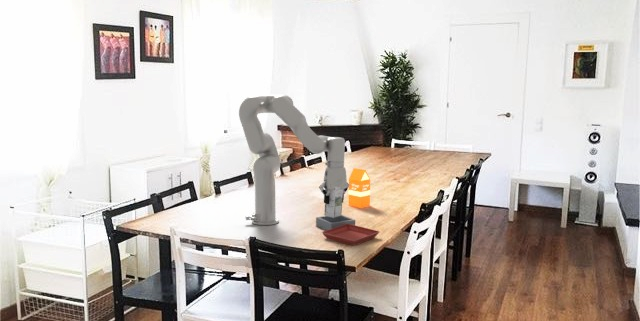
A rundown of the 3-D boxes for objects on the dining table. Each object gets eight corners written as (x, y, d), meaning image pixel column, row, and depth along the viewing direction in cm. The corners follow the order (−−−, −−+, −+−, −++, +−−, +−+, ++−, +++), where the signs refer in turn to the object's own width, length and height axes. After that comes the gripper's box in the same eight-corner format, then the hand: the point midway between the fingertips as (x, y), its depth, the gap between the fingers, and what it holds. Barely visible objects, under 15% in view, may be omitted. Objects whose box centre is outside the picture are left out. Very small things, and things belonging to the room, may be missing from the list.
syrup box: (331, 213, 253) (333, 183, 251) (341, 216, 249) (343, 185, 247) (324, 215, 248) (325, 184, 246) (334, 218, 245) (335, 186, 243)
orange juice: (357, 203, 299) (358, 167, 296) (370, 205, 292) (370, 169, 289) (348, 205, 293) (348, 168, 290) (360, 208, 287) (361, 170, 284)
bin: (331, 232, 240) (331, 223, 240) (316, 225, 251) (316, 217, 251) (355, 228, 247) (355, 219, 247) (339, 222, 258) (339, 213, 258)
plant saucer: (354, 248, 220) (354, 240, 219) (320, 239, 231) (321, 231, 231) (380, 238, 233) (380, 231, 232) (347, 230, 245) (347, 223, 244)
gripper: (323, 166, 237) (321, 206, 240) (356, 164, 246) (353, 203, 249) (314, 164, 244) (313, 202, 246) (346, 162, 253) (344, 199, 256)
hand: (333, 202), depth 248 cm, fingers closed on syrup box, 7 cm apart
